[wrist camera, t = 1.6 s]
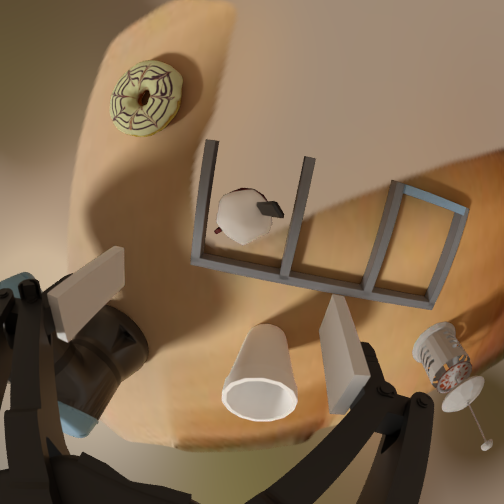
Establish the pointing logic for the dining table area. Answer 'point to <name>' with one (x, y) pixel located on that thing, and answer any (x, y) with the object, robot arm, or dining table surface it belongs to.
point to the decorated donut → (159, 104)
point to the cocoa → (246, 215)
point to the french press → (455, 378)
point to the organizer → (284, 273)
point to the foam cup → (261, 377)
